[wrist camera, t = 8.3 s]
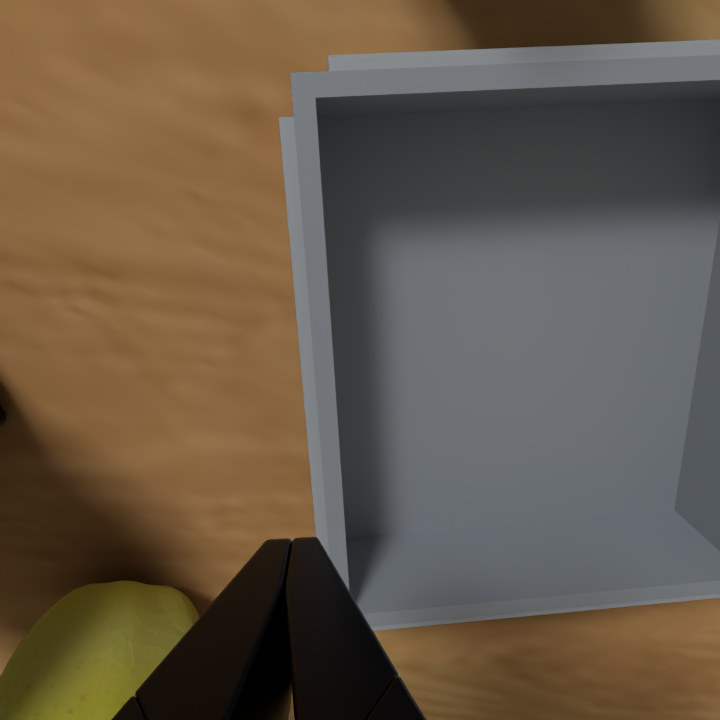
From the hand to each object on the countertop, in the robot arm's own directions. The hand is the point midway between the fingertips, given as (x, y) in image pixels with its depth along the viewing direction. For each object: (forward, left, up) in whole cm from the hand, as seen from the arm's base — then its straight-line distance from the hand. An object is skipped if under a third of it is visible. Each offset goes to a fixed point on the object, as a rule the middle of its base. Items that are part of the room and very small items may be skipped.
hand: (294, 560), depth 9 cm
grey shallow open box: (+8, -3, -13) cm, 15 cm away
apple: (-12, -9, -13) cm, 20 cm away
